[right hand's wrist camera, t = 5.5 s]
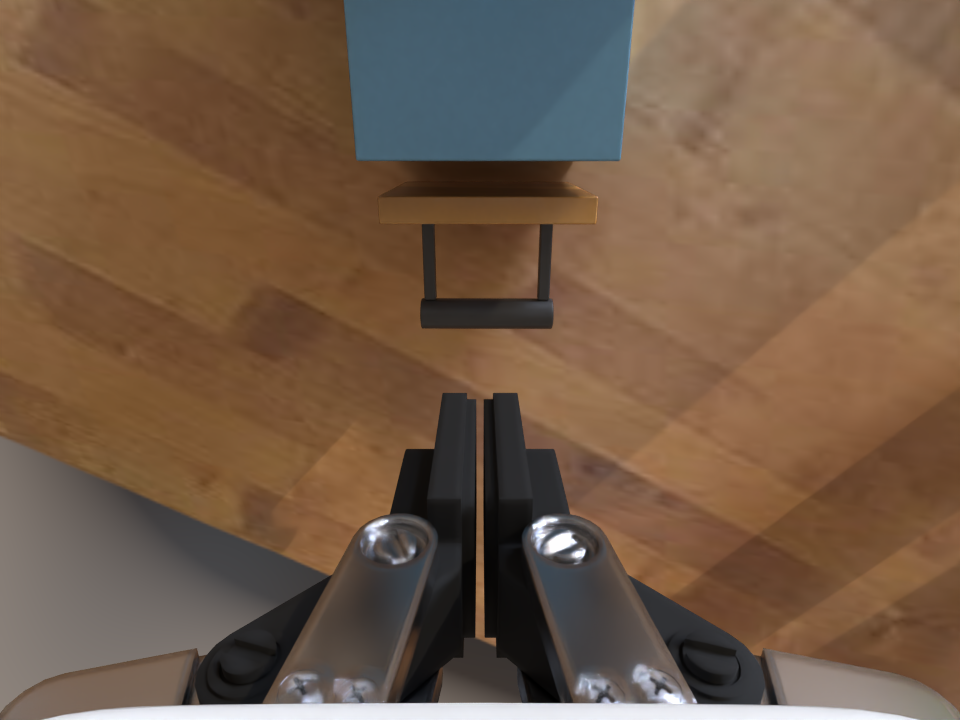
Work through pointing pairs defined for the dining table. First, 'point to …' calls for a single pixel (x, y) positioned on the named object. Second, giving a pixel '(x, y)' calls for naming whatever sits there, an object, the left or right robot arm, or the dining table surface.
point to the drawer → (487, 207)
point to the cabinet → (488, 79)
